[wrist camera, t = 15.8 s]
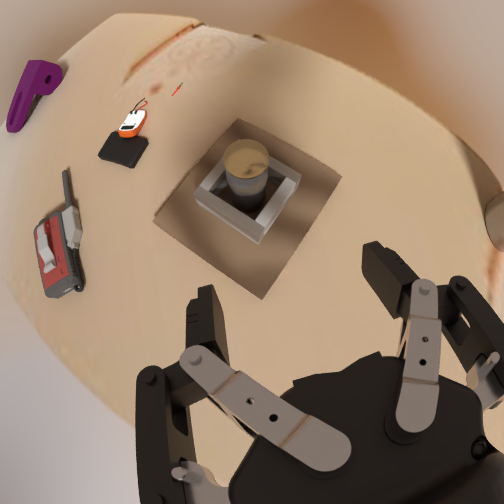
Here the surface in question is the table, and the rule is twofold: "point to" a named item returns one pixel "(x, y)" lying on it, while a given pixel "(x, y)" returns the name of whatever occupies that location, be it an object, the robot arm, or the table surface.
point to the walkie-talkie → (60, 248)
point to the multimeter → (127, 140)
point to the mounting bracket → (32, 90)
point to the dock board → (248, 224)
